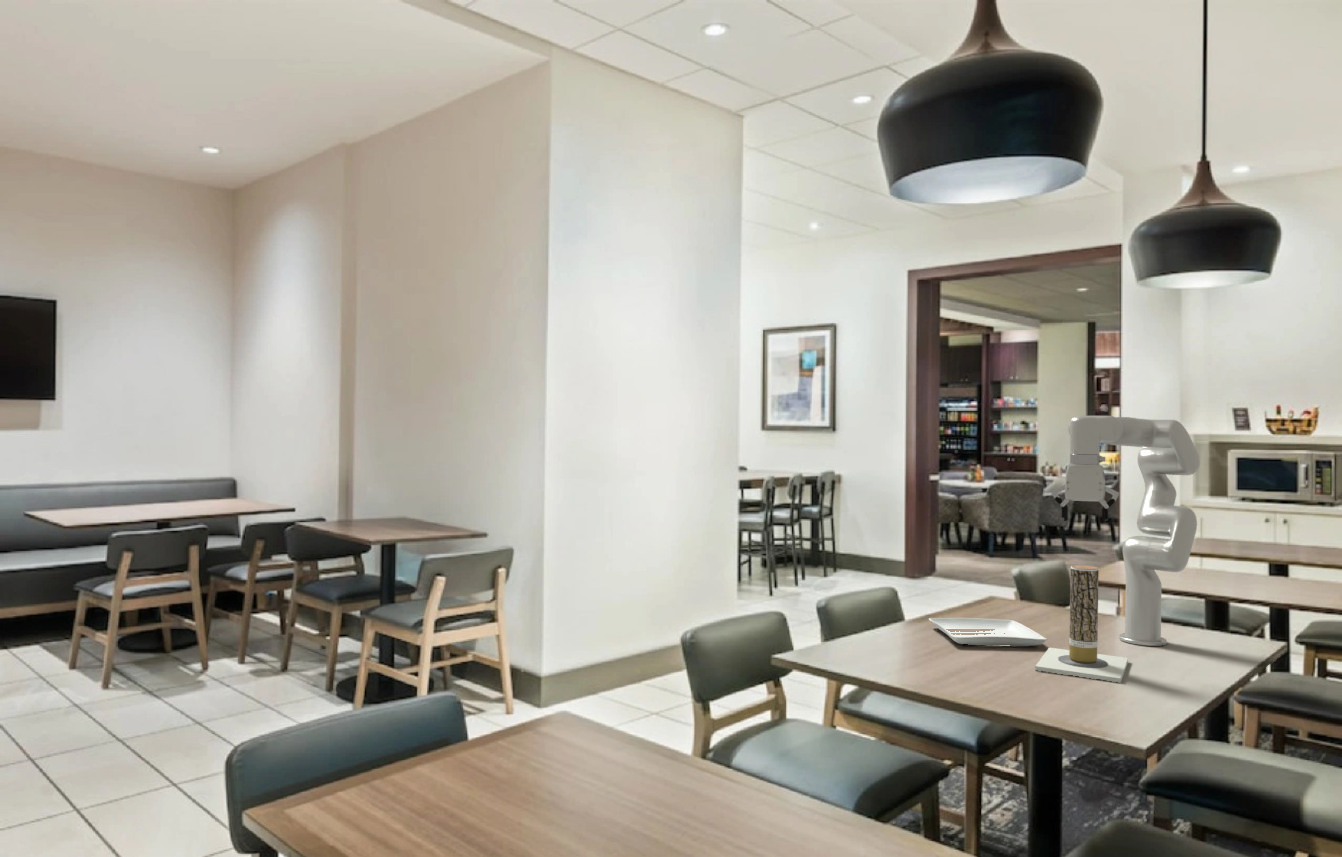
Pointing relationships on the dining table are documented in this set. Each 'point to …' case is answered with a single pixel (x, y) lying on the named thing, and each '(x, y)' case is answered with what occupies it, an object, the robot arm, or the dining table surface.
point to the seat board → (1083, 665)
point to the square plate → (1012, 629)
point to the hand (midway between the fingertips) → (1084, 521)
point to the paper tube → (1083, 613)
